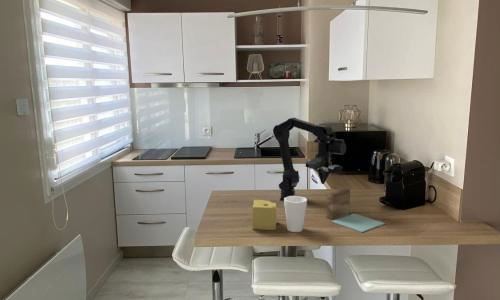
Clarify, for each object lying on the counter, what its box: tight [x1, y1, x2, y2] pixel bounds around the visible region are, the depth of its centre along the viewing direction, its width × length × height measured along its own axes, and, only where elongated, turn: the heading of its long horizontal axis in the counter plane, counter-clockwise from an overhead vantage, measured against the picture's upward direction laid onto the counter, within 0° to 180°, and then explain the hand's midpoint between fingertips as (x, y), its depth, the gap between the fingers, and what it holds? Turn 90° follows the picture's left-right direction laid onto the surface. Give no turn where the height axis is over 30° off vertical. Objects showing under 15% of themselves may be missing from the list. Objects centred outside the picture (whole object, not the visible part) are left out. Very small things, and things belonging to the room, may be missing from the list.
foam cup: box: [283, 195, 308, 233], centre depth 164 cm, size 10×9×13 cm
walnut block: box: [325, 187, 351, 221], centre depth 180 cm, size 4×12×12 cm, turn 129°
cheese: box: [251, 199, 278, 231], centre depth 168 cm, size 10×11×10 cm
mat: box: [331, 213, 385, 233], centre depth 172 cm, size 16×16×1 cm
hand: (322, 183), depth 191 cm, fingers closed
